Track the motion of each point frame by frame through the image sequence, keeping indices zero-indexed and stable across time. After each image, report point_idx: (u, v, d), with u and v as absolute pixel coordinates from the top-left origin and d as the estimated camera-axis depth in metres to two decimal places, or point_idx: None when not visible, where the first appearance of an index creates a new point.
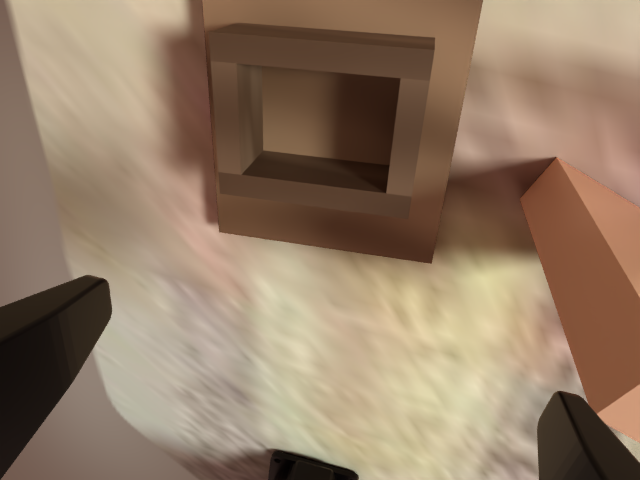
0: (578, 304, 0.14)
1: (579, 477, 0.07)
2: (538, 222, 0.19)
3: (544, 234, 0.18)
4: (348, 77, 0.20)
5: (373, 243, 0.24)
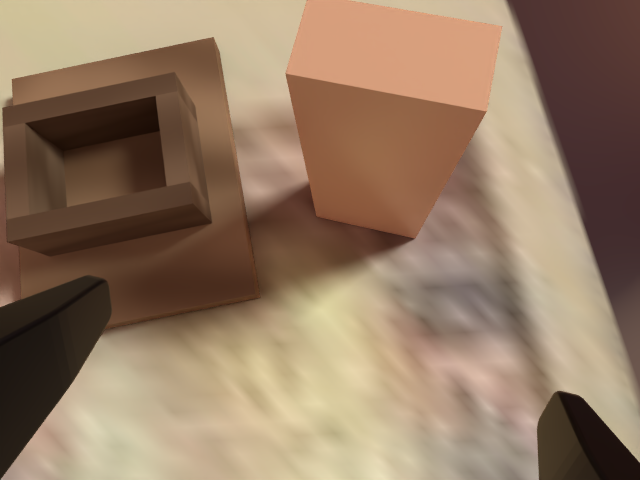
0: None
1: (579, 477, 0.07)
2: None
3: None
4: (136, 149, 0.24)
5: (191, 292, 0.22)
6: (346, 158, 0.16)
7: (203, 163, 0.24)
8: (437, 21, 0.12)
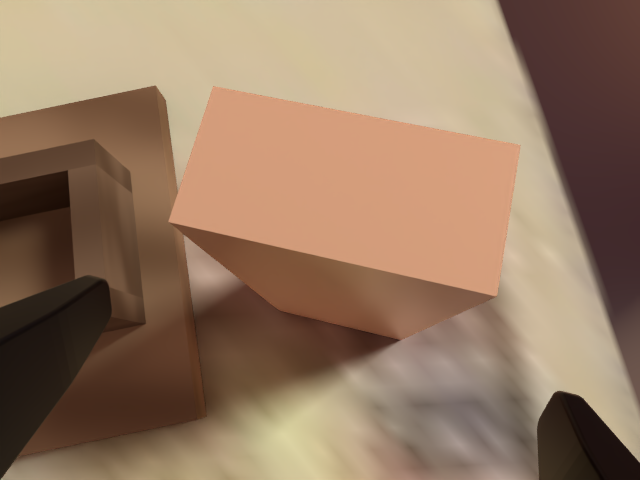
0: None
1: (579, 477, 0.07)
2: None
3: None
4: (56, 227, 0.20)
5: (116, 416, 0.18)
6: (295, 289, 0.12)
7: (137, 246, 0.19)
8: (414, 135, 0.08)
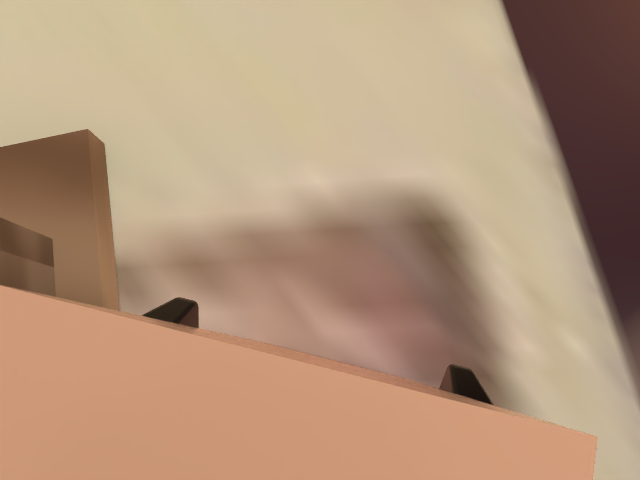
0: None
1: None
2: None
3: None
4: None
5: None
6: None
7: None
8: (373, 404, 0.04)
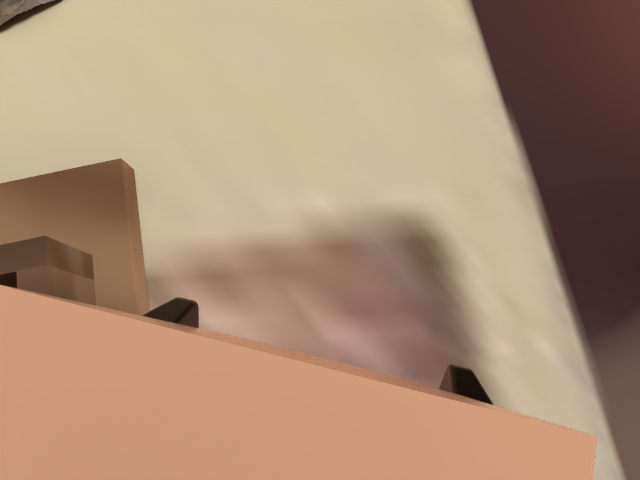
0: None
1: None
2: None
3: None
4: None
5: None
6: None
7: None
8: (374, 405, 0.04)
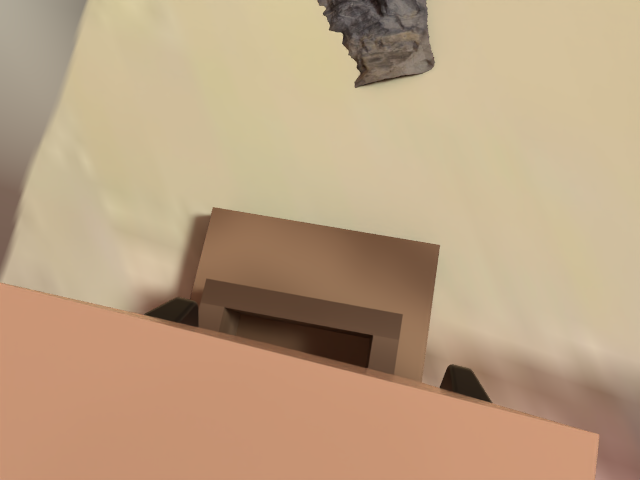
0: None
1: None
2: None
3: None
4: (317, 346, 0.22)
5: None
6: None
7: None
8: (376, 402, 0.04)
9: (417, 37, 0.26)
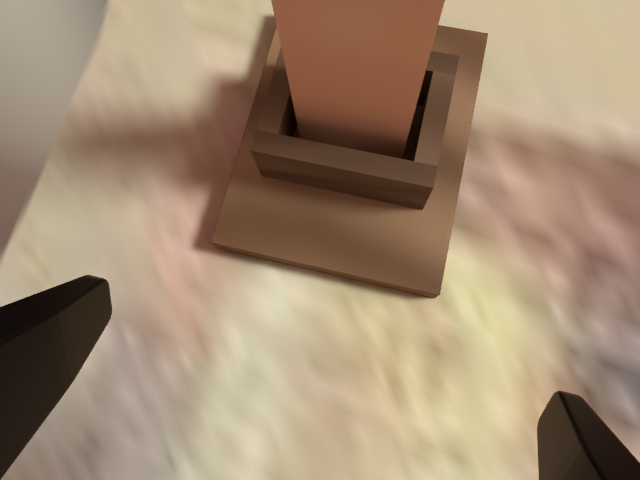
0: None
1: (579, 477, 0.07)
2: None
3: None
4: None
5: (379, 266, 0.22)
6: (324, 50, 0.16)
7: None
8: None
9: None
